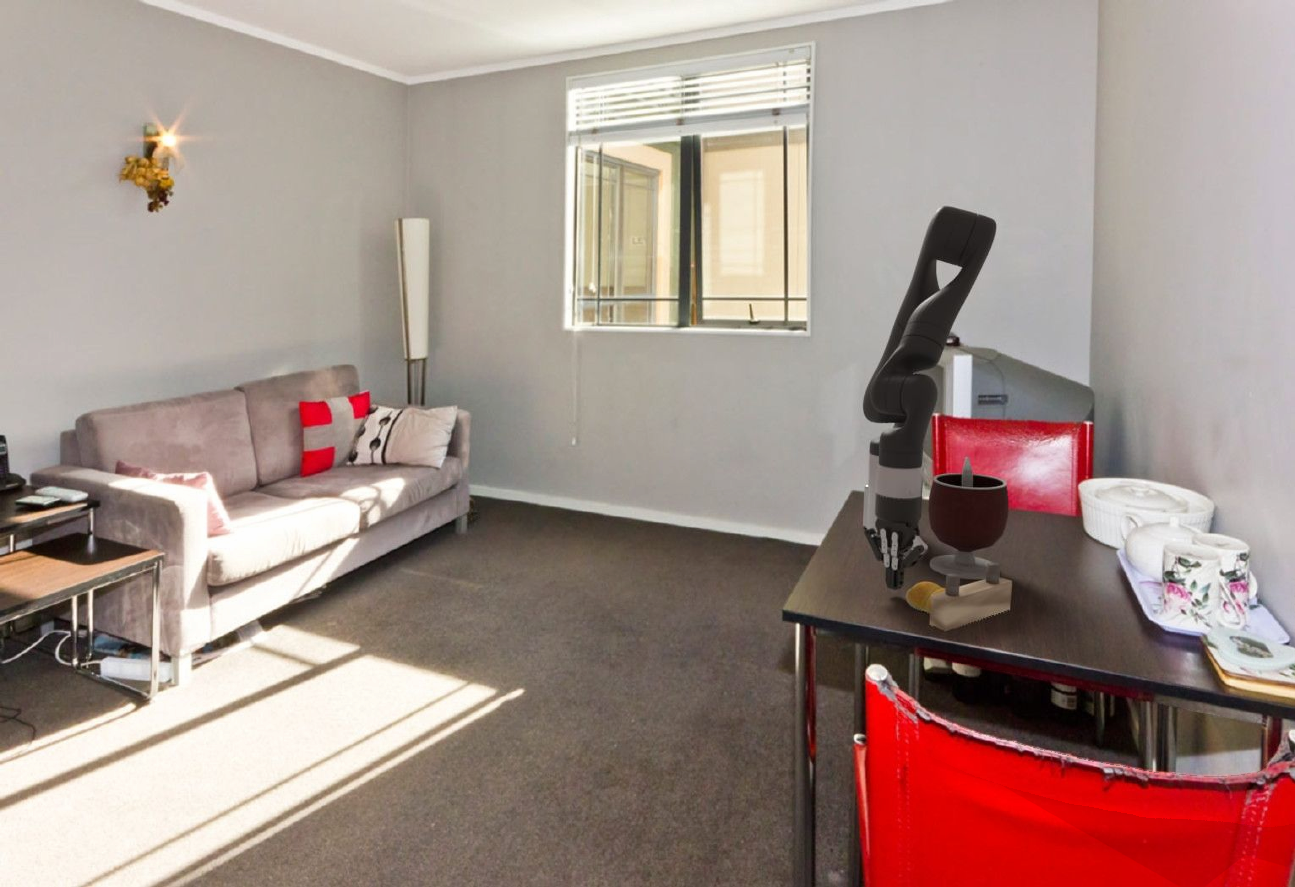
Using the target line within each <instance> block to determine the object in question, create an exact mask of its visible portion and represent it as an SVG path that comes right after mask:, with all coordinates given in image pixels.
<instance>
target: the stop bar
mask: <svg viewBox="0 0 1295 887" xmlns="http://www.w3.org/2000/svg"><path fill="white" fill-rule="evenodd" d="M1000 574H1001V564H1000V563H998V562H992V561H991V562H989V563H987V570H986V579H979V580H978V581H974V582H970V583H967V584H963V585H960V582H961V578H960V576H959V575H957V574H947V575H945V587H944V588H945V591H943V592H940V593H936V594H933V595H931V609H930V614H929V626H930V625H931V627H933V626H936V627H938V628H940V629H943V630H945V631H947V630H949V629H952V628H955V627H957V626H961V627H963V626H962V625H964V626H967V625H969V624H968V623H970V624H972V623H971V622H973V623H975V622H974V621H976V622H979V621H982V620H984V619H983V618H985V619H987V618H986V617H988V616H991V615H994V616H997V615H999V614H998V613H1000V614H1002V613H1001V612H1003V613H1005V612H1004V611H1006V610H1009V611H1010V610H1011V603H1012V602H1011V600H1012V586H1013V581H1012V580H1009V579H1008V578H1007V579H1006V578H1004V577H1002V576H1001V577H1000ZM1006 612H1007V611H1006ZM996 614H997V615H996ZM991 617H992V616H991ZM988 618H989V617H988ZM981 619H982V620H981ZM978 620H979V621H978ZM966 624H967V625H966ZM940 629H939V630H940ZM955 629H956V628H955ZM945 631H944V632H945ZM947 632H948V631H947Z"/></svg>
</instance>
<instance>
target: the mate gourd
mask: <svg viewBox="0 0 1295 887" xmlns="http://www.w3.org/2000/svg"><path fill="white" fill-rule="evenodd" d="M932 480H933V481H932V483H931V486H930V491H929V497H928V508H927V510H928V511H927V512H928V522H929V524H930V528H931V531H932V532H933V534H934V535H935V536H936V538H937V540H938V541H940V543H942V544H944V545H946V546H949V547H951V548H954V549H955V550H957V551H956V553H955V554H944V555H943V554H942V555H938V556H934V557H932V558H931V559H930V561H929V566H930V568H931V570H932V571H934V572H936V573H938V572H939V573H938V574H941V575H944V576H946V575H947V574H957V575H959V576H960V579H963V580H964V579H965V580H984V579H986V570H987V563H989V562H992V561H991V560H987V559H986V558H982V557H977V556H974V551H979V550H982V549H983V550H984V549H987V548H990V547H992V546H994V545H995V543H997V542H998V541H999V540H1000V538H1002V537H1003V535H1004V533H1005V530H1006V527H1007V522H1008V518H1009V506H1010V503H1009V492H1008V487H1007V486H1008V483H1007V481H1006V480H1004V479H1002V478H999V477H995V476H992V475H991V476H990V475H985V474H978V473H974V472H973V469H972V465H971V461H970V459H969V457H968V456H965V457H964V462H963V467H962V472H958V473H956V472H955V473H954V472H953V473H951V472H950V473H943V474H942V473H941V474H937V475H934V476H933V478H932Z"/></svg>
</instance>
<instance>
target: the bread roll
mask: <svg viewBox="0 0 1295 887" xmlns="http://www.w3.org/2000/svg"><path fill="white" fill-rule="evenodd" d="M945 588H946V587H942V586H940V585H938V584H937V583H935V582H931V581H922V582H921V581H920V582H918V583H916V584H915V585H913V586H912V587H911V588H910V589H908V590H907V592H906V593H905V601H906V602H907V603H908V605H909V606H910V607H911V608H912V607H913V608H912V609H914V608H915V609H914V610H916V609H917V611H919V610H921V611H920V612H922V611H924V612H925V613H926V612H927V613H926V614H928V613H929V614H928V615H930V609H931V595H933V594H936V593H940V592H943V591H945Z"/></svg>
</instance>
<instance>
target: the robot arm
mask: <svg viewBox="0 0 1295 887" xmlns="http://www.w3.org/2000/svg"><path fill="white" fill-rule="evenodd" d="M996 233H997V223H996V221H995V219H994V218H992V217H989V216H986V215H983V214H980V213H976V212H974V211H973V212H972V211H970V210H969V211H968V210H966V209H962V208H957V207H954V206H949V205H942V206H940V207H939V208H938V209H937V210H936V211H934V214H933V215H932V217H931V219H930V222H929V223H928V226H927V228H926V232H925V235H924V238H923V241H922V244H921V248H920V252H919V255H918V258H917V262H916V265H915V268H914V272H913V275H912V277H911V281H910V283H909V285H908V288H907V291H906V294H905V296H904V297H903V300H902V303H901V304H900V307H899V310H898V312H897V315H896V318H895V320H894V323H893V325H892V328H891V332H890V335H889V338H888V341H887V343H886V345H885V349H884V351H883V353H882V356H881V358H880V361H879V362H878V364H877V366H876V368H875V370H874V372H873V373H872V376H871V378H870V380H869V382H868V384H867V387H866V389H865V391H864V395H863V401H862V411H863V415H864V417H865V418H866V420H867V421H869V422H870V423H875V424H893V426H892V427H891V428H888V429H885V430H883V431H882V432H881V434H880V435H879V436H877V437H875V438H873V439H871V440H870V441H869V442H870V443H869V451H868V452H869V455H868V479H867V480H868V481H867V484H866V485H865V486H864V492H863V515H862V516H863V518H862V527H863V526H865V527H864V528H866V529H864V531H863V532H864V535H865V537H866V540H867V542H868V544H869V546H870V547H871V551H872V552H873V555H874V556H875V559H876V561H878V562H880V561H881V562H882V563H883V565H884V567H885V579H884V580H885V584H886V588H888V589H890V590H893V591H896V590H900V589H901V588H903V586H904V584H905V570H906V569H910V568H914V567H915V566H916V565H917V564H918V563H919V562H920V561H921V560H922V559H923V558H924V557H925V556H926V555H927V553H928V552H929V551H930V550H931V549H932V546H931V544H930V543H929V542H927V543H925V542H924V541H923V539H922V538H921V536H920V535H921V531H920V527H919V522H920V520H921V517H922V505H923V503H922V502H923V486H924V476H923V459H924V458H923V456H924V443H925V438H926V434H927V431H928V428H929V425H930V423H931V422H930V421H931V419H932V416H933V414H934V411H935V408H936V405H937V401H938V396H939V395H938V393H939V392H938V387H937V384H936V382H935V381H934V379H933V378H932V377H931V376H929V375H928V374H923V373H919V372H921V371H927V370H932V369H933V368H935V367H936V366H937V365H938V364H939V362H940V360H941V357H942V355H943V352H944V349H945V346H946V345H947V342H948V339H949V336H950V333H951V331H952V329H953V325H954V323H955V321H956V319H957V317H958V315H959V313H960V311H961V309H962V307H963V305H964V303H965V302H966V300H967V298H968V297H969V294H970V293H971V290H972V289H973V287H974V285H975V283H976V281H977V280H978V276H979V275H980V272H981V271H982V268H983V266H984V263H985V262H986V260H987V258H988V255H989V253H990V251H991V249H992V246H993V243H994V242H995V241H994V240H995V238H996ZM938 261H939V262H943V263H946V264H949V265H952V266H957V267H959V268H960V270H959V273H957V275H956V276H955V277H954V278H953V279H952V280H951V281H950V282H949V283H948V284H946V285H945V286H944V287H943V288H940V285H939V280H938V275H937V262H938Z"/></svg>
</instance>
